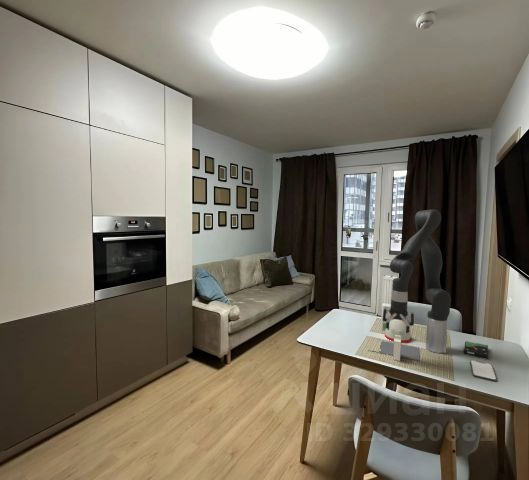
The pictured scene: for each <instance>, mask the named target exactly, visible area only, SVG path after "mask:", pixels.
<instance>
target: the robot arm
mask: <svg viewBox="0 0 529 480" xmlns="http://www.w3.org/2000/svg"><path fill="white" fill-rule="evenodd" d="M441 221H442V215H441V212H440V211H439V210H438V209H425V210H419V211H417V212H416V213H415V215H414V222H415V223H414V224H415V227H416V231H417V232H416V233H415V234H413V235H412V236H411V237H410V238H409V239H408V240H407V241H406V243H405V244H404V246H403V248H402V250H401V251H400V252H398V253H397V255H396V256H394V257H393V258H392V259H391V261H390V263H389V270H390V271H391V272H392V273H394V274H400V277H396V278H393V280H392V288H391V294H390V295H391V296H390V304H391V308H390V310H389V309H386V308H384V311H383V319H382V320H383V321H386V328H387V330H389V323H390V322H389V321H390V320H392V319H393V318H394V319H398V320H403V321H404V322H405V323H406V333H408V332H409V331H410V328H411V327H413V326H414V324H415V313H414V312H413V311H411V312H408V303H409V301H408V300H409V296H408V295H409V294H408V293H409V291H408V290H409V289H408V288H409V283H410V279H411V277H412V274H413V271H414V265H413V262H412V260H414V259H416V258H417V256H418V254H419V252H420V251H421V261H422V265H423V266H422V267H423V273H424V274H423V275H424V279H425V280H424V281H425V297H426V300H427V301H428V302H429V303H430V304H431V310H428V311H427V315H426V316H427V317H426V336H425V349H427V350H428V351H430V352H433V353H438V354H447V343H448V335H447V331H448V318H449V315H450V312H451V306H452V305H451V303H452V299H451V295H450V293H449V292H448V291H446V290H444V289H442V285H441V281H440V280H441V279H440V276H441V275H440V274H441V273H442V269H443V256H442V252H441V249H440V247H439V246H438V244H437V243H436V242H435V240H434V239H433V238H432V236H431V235H432V234H433V232H434V231H436V229H437V227H439V225H440V224H441ZM388 312H390V314H391V316H390V317H389V318H388V319H387V318H386V314H387V313H388ZM407 316H408V317H409V318H410V321H409V320H408V318H407Z"/></svg>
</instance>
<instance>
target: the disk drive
mask: <svg viewBox="0 0 529 480" xmlns="http://www.w3.org/2000/svg"><path fill="white" fill-rule="evenodd" d="M463 354H464V355H467V356H472V357H475V358H476V357H477V358H479V359H484V358H485V360H489V345H488V344H483V343H479V342H473V341H472V342H471V341H468V340H466V341H465V342H464V347H463Z"/></svg>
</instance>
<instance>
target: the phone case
mask: <svg viewBox="0 0 529 480" xmlns="http://www.w3.org/2000/svg"><path fill="white" fill-rule="evenodd" d="M469 365H470V371H471V375H472V377H474V378H477V379H479V380H480V379H481V380H484V381H489V382H493V383H497V382H498V378H497V374H496V373H495V370H494V367H493V365H492V364H491V363H487V362H482V361H477V360H473V359H471V360H469Z"/></svg>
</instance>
